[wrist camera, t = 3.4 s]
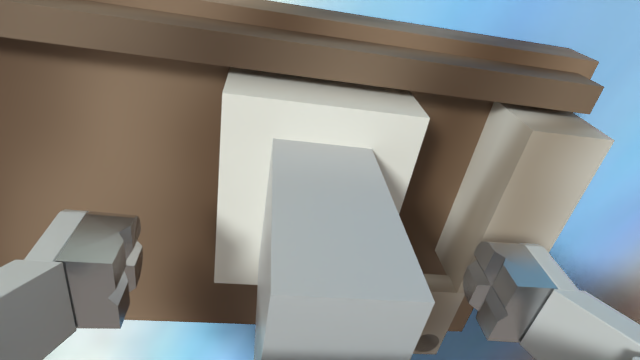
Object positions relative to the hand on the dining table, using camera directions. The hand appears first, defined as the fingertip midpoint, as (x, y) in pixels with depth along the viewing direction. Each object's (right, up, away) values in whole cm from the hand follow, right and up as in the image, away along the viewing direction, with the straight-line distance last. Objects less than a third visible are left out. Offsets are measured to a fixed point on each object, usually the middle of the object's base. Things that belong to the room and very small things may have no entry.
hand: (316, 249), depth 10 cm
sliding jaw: (-1, +1, +4) cm, 4 cm away
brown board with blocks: (-3, +2, +5) cm, 6 cm away
